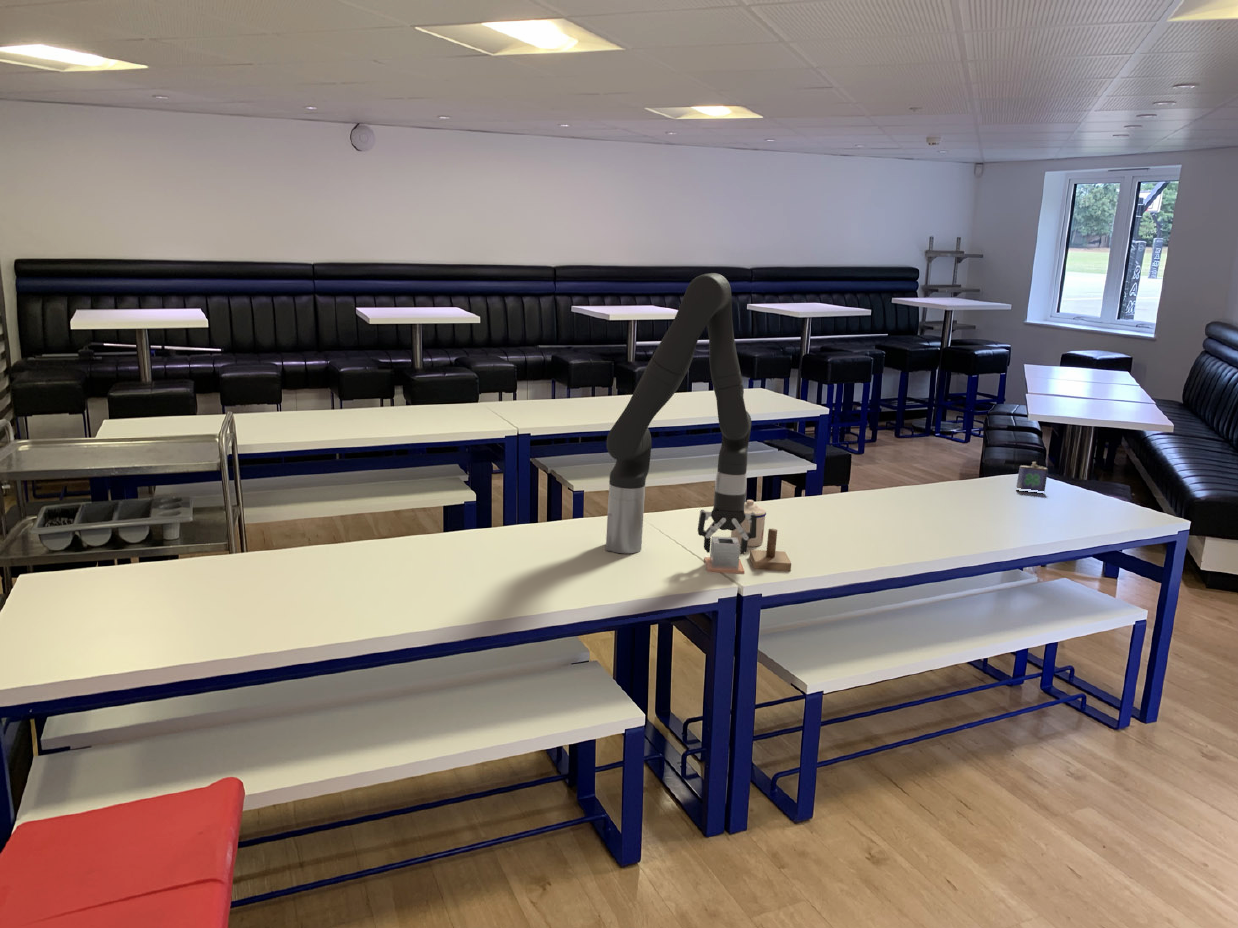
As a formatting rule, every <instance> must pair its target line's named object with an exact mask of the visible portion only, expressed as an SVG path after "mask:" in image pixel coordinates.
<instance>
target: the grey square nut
mask: <svg viewBox="0 0 1238 928" xmlns="http://www.w3.org/2000/svg"><path fill="white" fill-rule="evenodd" d="M740 548H741V545H740V544H739V541H738V539H737V538H732V537H731V536H730V537H729V536H728V537H727V536H713V535H712V536H711V542H710V555H709V557H710V561H711V565H712V568H726V569H738V566H739V559H740V554H741V553H740Z"/></svg>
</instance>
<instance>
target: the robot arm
mask: <svg viewBox="0 0 1238 928" xmlns="http://www.w3.org/2000/svg"><path fill="white" fill-rule="evenodd" d="M732 304H733V303H732V288H731V285H730V282H729V281H728V280H727V278H726V277H725V276H723V275H721V274H719V273H716V272H710V273H709V272H708V273H704V274H701V275H698V276H696V277H695V278H693V279H692V280H691V281H690V283H689V284H688V286H687V287H686V289H685V293H684V294H683V298H682V300H681V302H680V304H679V307H678V309H677V312H676V314H675V317H674V319H673V321H672V323H671V325H670V326H669V328H668V329H667V331H666V333H665V334H664V335H663V338H661V341H660V342H659V344H658V345H657V347H656V350H655V351H654V352H653V355H652V356H651V358H650V360H649V361H648V364H647V366H646V367H645V370H644V372H643V374H642V375H641V378H640V380H639V381H638V383H637V385H636V387H635V389H634V391H633V393H632V395H631V398H630V400H629V402H628V404H627V405H626V406H625V408H624V410H623V411H622V413H621V414H620V416H619V417H618V419H617V420H616V421H615V423H614V424H613V425H612V428H611V429H610V430H609V432H608V434H607V437H606V448H607V452H608V455H610V457H611V458H612V459H614V460H616V461H615V464H614V466H613V468H612V470H611V471H610V473H609V478H608V479H609V481H608V483H609V484H608V499H607V501H608V502H607V503H608V504H607V517H606V518H607V521H606V534H605V535H606V536H605V551H606V552H608V551H609V552H613V553H618V554H635V553H638V552H640V551H641V550H642V547H643V546H642V544H643V527H644V509H645V497H646V496H645V495H646V480H647V477H648V475H649V471H650V464H651V455H652V454H651V452H652V435H651V432H650V429H649V426H650V425H651V422H652V420H653V419H654V418H655V416H656V415H657V414H658V413H659V411H661V410H662V408H664V406H665V405H666V404H667V403H668V402H669V401H670V400H671V399H672V397H673V396H674V394H675V393H676V392H677V390H678V389H679V387H680V386H681V384H682V382H683V380H684V379H685V376H686V375H687V373H688V370H689V369H690V366H691V364H692V361H693V358H694V355H695V350H696V347H697V344H698V341H699V338H700V337H701V335H702V333H703V331H704V330H705V328H707V333H708V346H709V348H708V349H709V350H708V353H709V354H708V360H709V370H710V377H711V381H712V387H713V391H714V396H715V399H716V408H717V418H718V419H717V420H718V424H719V425H718V426H719V428H720V432H721V433H722V434H721V446H720V449H719V453H718V458H717V472H716V477H715V482H714V494H713V508H712V509H711V511H705V509H700V510H699V517H698V524H697V525H698V526H697V532H698V533H697V534H698V535H699V536H700V537H701V536H702V537H703V538H704V539H703V549H704V550H705V552H706V553H710V551H711V539H712V536H713V535H714V534H715V533H716V532H717V531H718V530H719V529H720V530H721V531H726V530H728V531H734V530H735V529H737V530H738V531H739V533H740V534H741V536H742V538H741V545H740V554H741V555H745V553H747V552H748V546H747V545H748V540H749V539H751V538H756V522H757V517H756V515H755V513H754V512H752V513H751V514H745V513H744V505H745V503H746V492H747V490H746V489H747V470H748V469H747V467H748V450H749V444H750V436H751V431H752V430H751V429H752V418H751V415H750V413H749V412H748V410H747V409H746V404H745V399H744V391H745V390H744V383H743V377H742V372H741V367H740V363H739V357H738V354H737V353H738V352H737V348H736V347H737V346H736V340H735V335H734V334H735V333H734V324H733V308H732V307H733V306H732ZM709 518H711V519H712V521H713V522H712V523H711V524H710V525H709V526H708V528H707V529H706V530H705V524H706V521H708V520H709ZM745 518H746V519H747V520H748V522H749V523H750V532H748V533H746V532H745V530H744V529H743V527H742V526H741V523H742V522H743V521H744V520H745Z"/></svg>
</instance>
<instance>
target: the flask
mask: <svg viewBox="0 0 1238 928" xmlns="http://www.w3.org/2000/svg"><path fill="white" fill-rule="evenodd" d="M1031 463H1032V464H1031V465H1020V466H1019V469H1018V475H1017V480H1016V481H1017V482H1016V487H1017V488H1021V489H1031V490H1038V491H1044V492H1045V491H1046V490H1045V489H1046V484H1047V478H1048V472H1049V469H1048V468H1047V467H1045V466H1042V465H1038V464H1037V461H1032V462H1031ZM1016 487H1015V488H1016Z"/></svg>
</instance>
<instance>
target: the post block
mask: <svg viewBox="0 0 1238 928" xmlns="http://www.w3.org/2000/svg"><path fill="white" fill-rule="evenodd" d="M767 531H768V532H767V540H766V541H767V544H766V550H764V549H763V550H762V549H750V550H749V559H750V562H751V564H752V566H753V569H754V570H763V571H765V570H766V571H767V570H768V571H783V572H787V571H788V572H791V571H792V562H791V560H790V557H788V555H787V553H786V551H785V550H784V551H782V550H776V547H777V538H778V529H775V528H768V530H767Z"/></svg>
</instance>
